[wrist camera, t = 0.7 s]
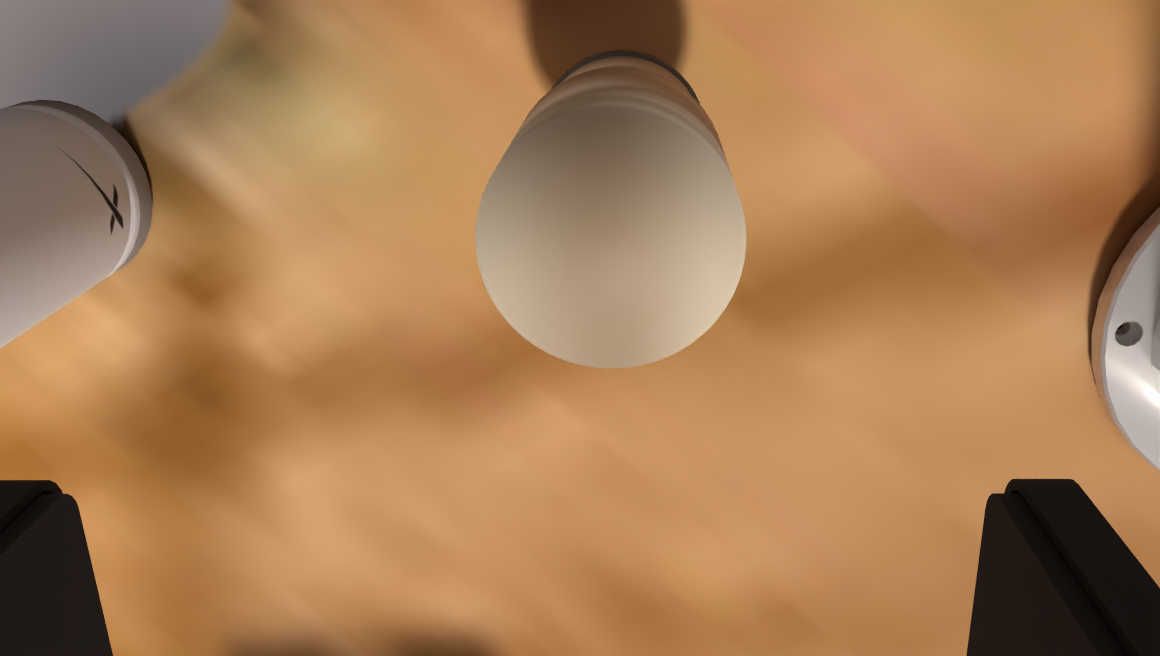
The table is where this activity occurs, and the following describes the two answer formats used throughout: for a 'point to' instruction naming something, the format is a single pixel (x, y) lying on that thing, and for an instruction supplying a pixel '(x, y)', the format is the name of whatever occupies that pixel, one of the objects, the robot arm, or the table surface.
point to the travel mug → (63, 208)
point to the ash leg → (613, 217)
